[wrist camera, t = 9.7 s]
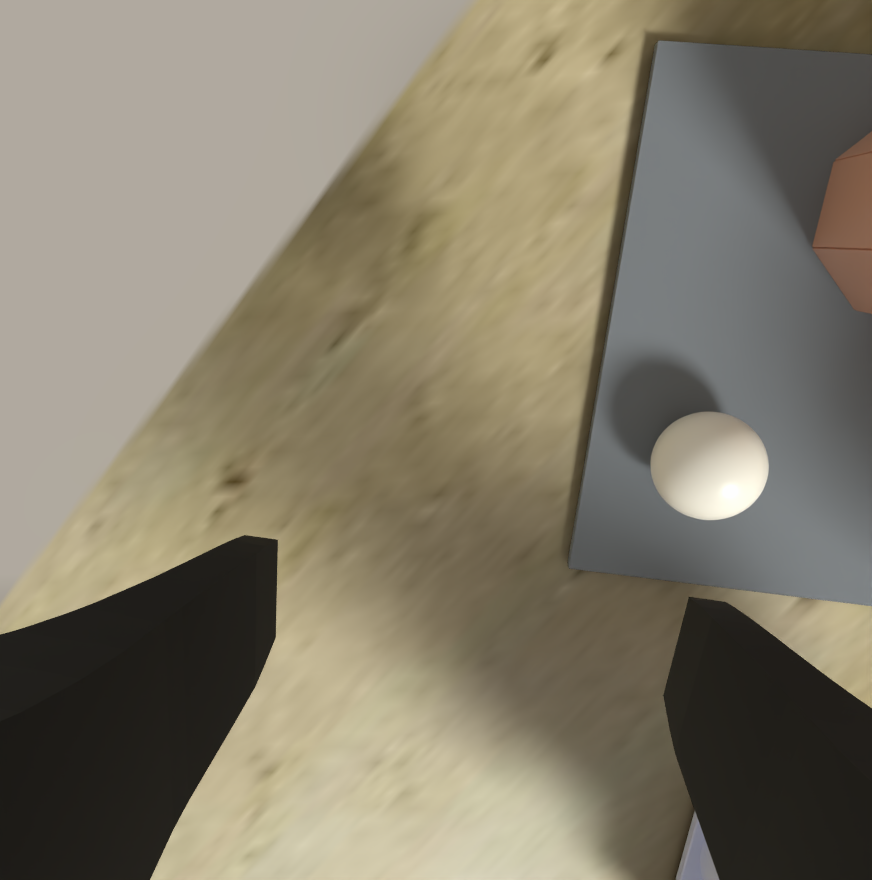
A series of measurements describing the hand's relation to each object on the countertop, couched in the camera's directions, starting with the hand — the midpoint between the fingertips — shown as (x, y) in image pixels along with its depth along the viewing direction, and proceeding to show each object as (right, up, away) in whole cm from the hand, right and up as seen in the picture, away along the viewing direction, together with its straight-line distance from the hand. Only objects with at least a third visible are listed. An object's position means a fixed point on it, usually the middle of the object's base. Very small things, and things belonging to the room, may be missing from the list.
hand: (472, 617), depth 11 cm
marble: (+7, +3, +8) cm, 11 cm away
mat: (+10, +6, +7) cm, 13 cm away
